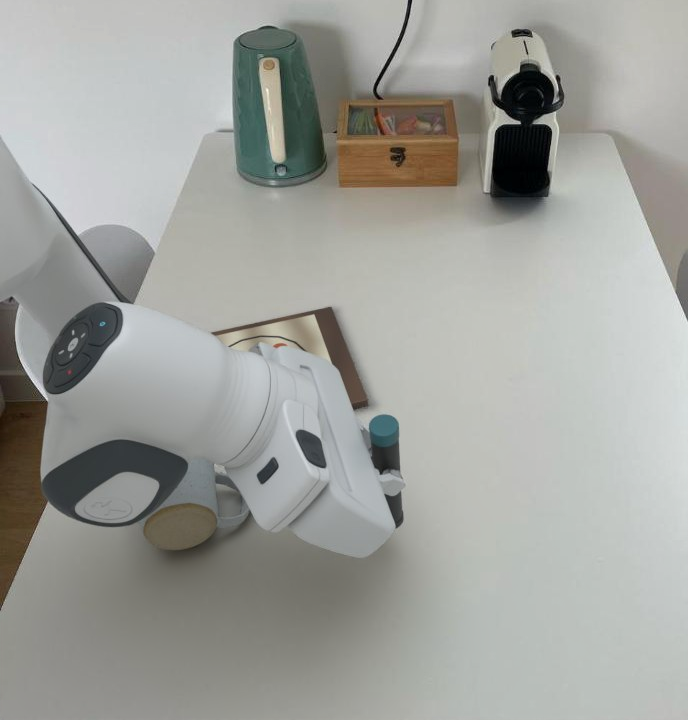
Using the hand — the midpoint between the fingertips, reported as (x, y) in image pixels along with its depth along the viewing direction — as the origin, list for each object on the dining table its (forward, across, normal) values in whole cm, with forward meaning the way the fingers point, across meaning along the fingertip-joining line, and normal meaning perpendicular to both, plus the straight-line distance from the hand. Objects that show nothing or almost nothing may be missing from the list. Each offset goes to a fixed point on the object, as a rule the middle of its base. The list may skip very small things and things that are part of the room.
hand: (392, 469), depth 72 cm
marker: (+5, 0, -6) cm, 7 cm away
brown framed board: (+2, -28, -14) cm, 31 cm away
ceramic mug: (-5, -10, -21) cm, 24 cm away
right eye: (+3, -30, -11) cm, 32 cm away
